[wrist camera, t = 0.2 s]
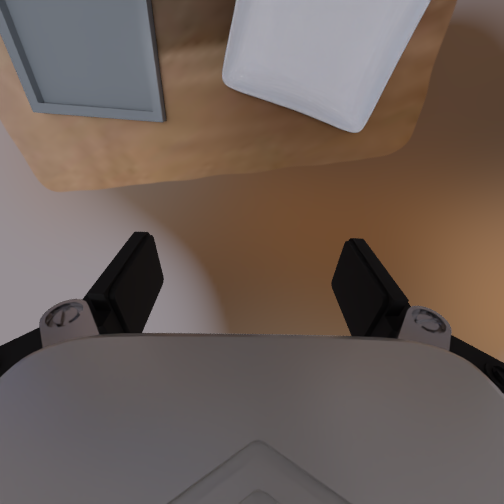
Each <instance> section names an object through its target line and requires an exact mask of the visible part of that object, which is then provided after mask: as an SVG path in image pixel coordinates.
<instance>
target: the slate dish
mask: <svg viewBox="0 0 504 504" xmlns="http://www.w3.org/2000/svg"><path fill="white" fill-rule="evenodd" d="M0 34H1V36H2V39H3V41H4V44H5V46H6V48H7V51H8V53H9V55H10V58H11V60H12V63H13V65H14V67H15V70H16V72H17V75H18V77H19V79H20V82H21V84H22V86H23V89H24V91H25V94H26V96H27V98H28V101H29V103H30V105H31V108H32V110H33V112H38V113H51V114H64V115H77V116H90V117H102V118H115V119H128V120H141V121H153V122H165V121H166V113H165V105H164V97H163V90H162V82H161V74H160V67H159V59H158V51H157V43H156V36H155V28H154V20H153V13H152V5H151V0H0Z"/></svg>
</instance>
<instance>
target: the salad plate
mask: <svg viewBox="0 0 504 504" xmlns="http://www.w3.org/2000/svg"><path fill="white" fill-rule="evenodd" d="M430 1H431V0H236V3H235V9H234V14H233V18H232V23H231V28H230V33H229V38H228V43H227V48H226V53H225V57H224V64H223V70H222V79H223V82H224V83H225V84H226V85H227V86H228V87H230V88H232V89H234V90H236V91H239V92H242V93H244V94H248V95H251V96H254V97H257V98H260V99H263V100H266V101H269V102H272V103H275V104H278V105H280V106H283V107H286V108H289V109H292V110H295V111H297V112H300V113H303V114H305V115H308V116H310V117H313V118H315V119H318V120H320V121H323V122H325V123H327V124H330V125H332V126H335V127H337V128H339V129H342V130H345V131H348V132H353V133H357V132H360V131H361V130H362V129H363V128H364V126H365V124H366V123H367V121H368V119H369V117H370V116H371V114H372V112H373V110H374V108H375V106H376V104H377V102H378V100H379V98H380V96H381V94H382V92H383V90H384V88H385V86H386V84H387V82H388V80H389V78H390V77H391V75H392V73H393V71H394V69H395V67H396V65H397V63H398V61H399V59H400V57H401V55H402V53H403V51H404V49H405V48H406V46H407V44H408V42H409V40H410V38H411V36H412V34H413V32H414V31H415V29H416V27H417V25H418V23H419V21H420V19H421V17H422V16H423V14H424V12H425V10H426V8H427V6H428V5H429V3H430Z"/></svg>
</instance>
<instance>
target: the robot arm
mask: <svg viewBox="0 0 504 504" xmlns="http://www.w3.org/2000/svg"><path fill="white" fill-rule="evenodd" d="M163 280H164V278H163V273H162V269H161V265H160V261H159V258H158V253H157V249H156V245H155V242H154V237H153V236H152V235H150V234H149V233H148V232H134V233H133V234H132V236H131V237H130V238H129V240H128V241H127V242H126V243H125V245H124V246H123V247H122V249H121V250H120V251H119V253H118V254H117V255H116V256H115V258H114V259H113V260H112V262H111V263H110V264H109V266H108V267H107V268H106V269H105V271H104V272H103V273H102V275H101V276H100V277H99V279H98V280H97V281H96V283H95V284H94V285H93V286H92V288H91V289H90V290H89V291H88V293H87V294H86V296H85V297H84V298H83V299H71V300H67V301H63V302H60V303H58V304H56V305H54V306H53V307H51V308H50V309H48V311H46V312H45V313H44V314H43V316H42V317H41V319H40V322H39V328H37V329H35V330H33V331H31V332H29V333H27V334H25V335H23V336H20V337H19V338H16V339H14V340H12V341H10V342H8V343H6V344H4V345H1V346H0V504H504V363H503V362H501V361H499V360H497V359H495V358H493V357H491V356H490V355H488V354H486V353H484V352H482V351H480V350H478V349H477V348H475V347H473V346H471V345H469V344H467V343H465V342H464V341H462V340H460V339H458V338H456V337H454V336H452V335H451V327H450V325H449V323H448V322H447V321H446V320H445V319H444V318H443V317H442V316H441V315H440V314H438V313H437V312H435V311H433V310H431V309H428V308H426V307H422V306H412V307H411V306H410V305H409V303H408V301H409V300H408V299H407V297H406V296H405V295H404V293H403V292H402V291H401V289H400V288H399V287H398V285H397V284H396V283H395V281H394V280H393V278H392V277H391V276H390V275H389V273H388V272H387V270H386V269H385V267H384V266H383V265H382V264H381V262H380V261H379V259H378V258H377V257H376V255H375V254H374V253H373V251H372V250H371V248H370V247H369V246H368V244H367V243H366V242H365V240H364V239H356V238H351V239H349V241H346V242H345V244H344V247H343V250H342V253H341V255H340V258H339V261H338V264H337V267H336V270H335V273H334V276H333V279H332V289H333V291H334V294H335V296H336V299H337V301H338V303H339V306H340V309H341V311H342V313H343V316H344V318H345V321H346V323H347V326H348V328H349V331H350V333H351V336H323V335H273V334H272V335H270V334H202V333H201V334H200V333H142V331H143V329H144V327H145V324H146V322H147V320H148V317H149V315H150V313H151V310H152V308H153V306H154V303H155V301H156V299H157V296H158V294H159V292H160V289H161V287H162V285H163Z"/></svg>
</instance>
